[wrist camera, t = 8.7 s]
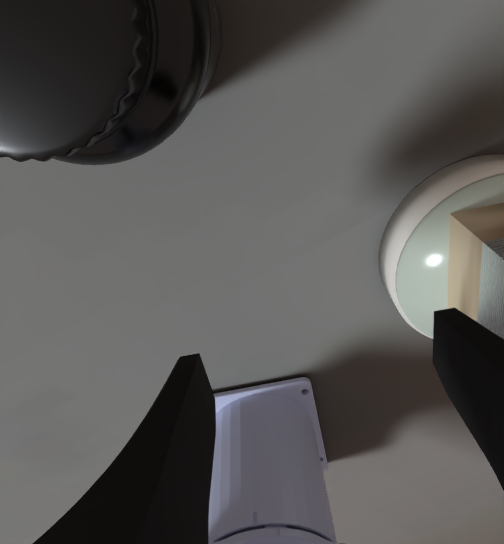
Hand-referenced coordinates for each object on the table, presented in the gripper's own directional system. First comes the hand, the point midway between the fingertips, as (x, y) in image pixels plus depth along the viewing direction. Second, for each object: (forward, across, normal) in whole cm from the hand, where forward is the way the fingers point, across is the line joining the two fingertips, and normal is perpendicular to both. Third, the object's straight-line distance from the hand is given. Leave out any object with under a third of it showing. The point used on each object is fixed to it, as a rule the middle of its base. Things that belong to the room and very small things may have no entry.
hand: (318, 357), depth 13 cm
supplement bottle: (+11, +4, -10) cm, 15 cm away
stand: (+10, -10, +4) cm, 15 cm away
